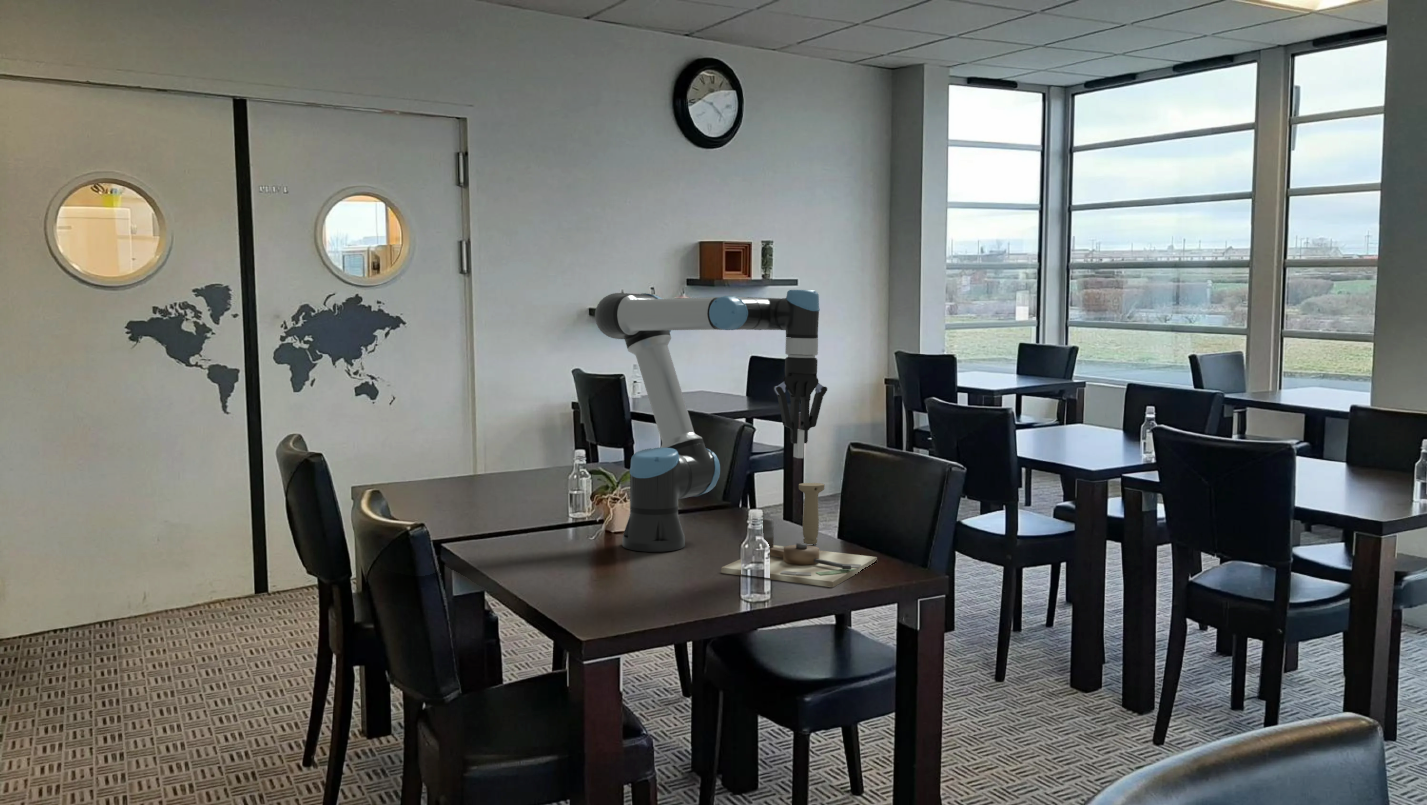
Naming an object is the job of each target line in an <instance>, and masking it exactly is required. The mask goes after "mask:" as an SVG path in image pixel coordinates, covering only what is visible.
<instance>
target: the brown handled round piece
mask: <svg viewBox="0 0 1427 805" xmlns="http://www.w3.org/2000/svg"><path fill="white" fill-rule="evenodd" d="M762 519H763V533H764V539H765V540H766V541H767V542H768V544H769V546H770V555H772V556H777V557H782V558H783V561H784V562H786V563H790V564H798V565H810V564H816V563H820V564H825V565H830V566H835V567H840V568H842V569H851V565H850V564H841V563H836V562H831V561H826V560H821V559H819V550H820V548H819V547H818V546H815V545H807V544H806V543H804V542H798V543H797V542H796V544H791V545H790V544H789V545H784V546H785V547H784V549H782V548H777V547H773V545H774V539H775V538H774V537H775V535H774V533H775V530H774V529H775V519H773V518H762Z"/></svg>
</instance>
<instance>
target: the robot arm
mask: <svg viewBox="0 0 1427 805" xmlns="http://www.w3.org/2000/svg"><path fill="white" fill-rule="evenodd" d="M819 298H820V295H819V292H818V291H817V290H814V289H789V290H788V291H787V292H786V296H785V297H783V298H779V297H778V298H776V297H761V296H760V297H755V296H754V297H751V296H747V297H746V296H734V295H724V296H719V297H714V296H711V297H689V298H688V297H681V298H680V297H679V298H663V297H660V296H658V295H655V294H650V293H646V292H645V293H643V292H642V293H625V292H615V293H610V294H608V295H605V296H604V297H603V298H602V299H600V301H599V302H598V303H597V306H596V308H595V311H594V319H595V323H596V325H597V328H598V330H600V332H601V333H603V335H605V336H606V337H608V338H611V339H615V340H624V342H625V345H626V348H627V351H628V352H629V353H631V354H633V355H634V356H635V358H636V361H637V364H638V367H639V371H640V374H641V377H642V382H643V384H644V387H645V390H646V394H647V397H648V401H649V403H650V407H651V410H652V414H653V417H654V420H655V423H656V426H657V429H658V433H659V436H660V440H661V446H660V447H655V448H654V447H653V448H645V449H642V450H638V451H637V452H635V453H633V455H632V456H631V459H630V468H629V516H628V519H627V523H626V526H625V528H624V532H623V535H622V547H623V548H624V549H627V550H630V551H636V552H649V553H660V552H663V553H664V552H671V551H678V550H681V549H683V548H685V546H686V544H685V543H686V536H685V534H684V530H683V526H682V524H681V521H680V520H681V519H680V518H679V500H680V499H685V498H689V497H690V498H691V497H693V498H694V497H699V496H702V495H704V494H707V493H708V492H710V491H711V490H713V489H714V488H715V487H716V485H717V483H718V480H719V479H720V475H721V464H720V460H719V458H718V456H717V454H716V453H715V452H714V451H712V450H711V449H709V448H708V447H707V448H706V446H705V445H706V444H705V442H704V438H703V437H702V436H700V435H698V434H696V433H695V431H694V427H693V423H692V420H691V417H690V413H689V411H688V408H687V405H686V401H685V398H684V394H683V392H682V387H681V386H680V385H681V384H680V381H679V378H678V375H677V372H676V368H675V365H674V362H673V358H672V356H671V353H670V350H669V346H668V345H669V343H670V342H671V339H672V336H671V331H700V330H701V331H710V330H711V331H712V330H713V331H715V330H716V331H718V330H719V331H722V330H723V331H740V330H741V331H742V330H746V331H747V330H750V331H751V330H752V331H763V330H764V331H785V355H786V356H787V357H785V359H784V377H783V379H782V382H781V383H780V384H778V385H774V386H773V387H772V388H773V392H774V393H775V394H776V396H777V402H778V407H779V411H780V416H781V422H782V425H783V427H786V428H788V429H790V441H789V442H790V443H791V444H793V456H792V457H793V458H796V459H804V458H805V457H804V456H805V444H807V443H808V442H809V440H808V439H809V438H808V436H809V431H810V430H811V428H814V427H816V426H817V423H818V419H819V418H818V417H819V415H820V410H821V408H822V407H821V406H822V403H823V399H824V396H825V395H826V393H827V391H828V387H827V386H824V385H822V384H821V383H820V382H819V381H820V380H819V378H818V374H817V373H818V358H817V357H816V356H818V355H819V352H818V351H819V317H820V316H819V315H820V299H819ZM786 390H787V391H786ZM786 392H788V393H789V399H790V407H789V406H788V400H787V395H786V394H785V393H786ZM813 392H815V393H814V395H813V400H812V404H810V401H811V395H812V394H813ZM810 405H811V408H810ZM789 408H790V410H789ZM799 418H800V419H799ZM799 427H800V428H799Z"/></svg>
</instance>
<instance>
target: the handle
mask: <svg viewBox="0 0 1427 805" xmlns="http://www.w3.org/2000/svg"><path fill="white" fill-rule="evenodd" d="M798 490H799V491H801V492H802V493H804V494H803V495H804V499H803V500H804V501H803V502H804V503H803V514H802V536H803V543H806V544H816V543H817V544H818V539H817V538H818V536H819V526H820V525H819V524H820V518H819V516H820V514H819V494H820V493H821V492H823V491H824V490H825V484H824V483H820V482H804V483H803V482H802V483H799V484H798ZM817 544H816V545H817Z"/></svg>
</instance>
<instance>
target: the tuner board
mask: <svg viewBox="0 0 1427 805" xmlns="http://www.w3.org/2000/svg"><path fill="white" fill-rule="evenodd" d="M785 546H786V545H776V544H773V547H777V548H782V549H784V547H785ZM741 559H742V558H740V559H738V560H735V561H733V562H731V563H729V564H726V565H724V566H721V569H720V570H721V571H720V574H721V573H722V574H728V575H737V576H742V575H741ZM819 559H821V560H826V561H831V562H836V563H841V564H850V565H851V569H842V568H840V567H835V566H830V565H825V564H820V563H816V564H810V565H798V564H790V563H786V562H784V561H783V558H782V557H777V556H772V555H770V579H769V580H774V581H782V582H789V583H796V584H804V585H812V586H819V587H826V588H827V587H829V588H835V587H836V586H838V585H840V584H841V583H843V582H845V581H847V580H848V579H850V578H852V577H853V576H856V575H857V574H859V573H861V572H862V571H861V570H862V569H864V568H865V567H868V566H869V565H871V564H872V563H874V562H875V561H876V560H877V561H878V557H877V556H870V555H863V554H861V555H860V554H853V553H845V552H835V551H827V550H820V549H819ZM871 566H872V565H871ZM868 568H869V567H868ZM864 570H865V569H864ZM860 571H861V572H860ZM858 572H859V573H858ZM855 574H856V575H855Z"/></svg>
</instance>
